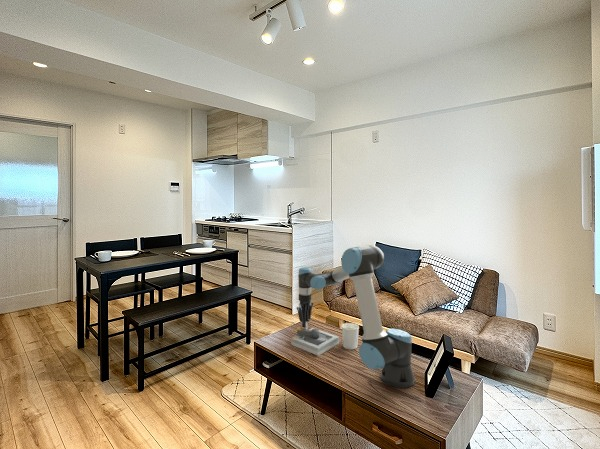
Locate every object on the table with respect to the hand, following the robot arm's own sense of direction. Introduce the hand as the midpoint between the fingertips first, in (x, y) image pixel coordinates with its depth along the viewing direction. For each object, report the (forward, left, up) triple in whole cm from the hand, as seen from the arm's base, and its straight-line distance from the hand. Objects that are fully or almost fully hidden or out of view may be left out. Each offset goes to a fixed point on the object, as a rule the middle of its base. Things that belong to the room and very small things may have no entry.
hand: (305, 331), depth 191 cm
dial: (-5, 0, -3) cm, 6 cm away
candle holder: (-25, -11, -6) cm, 28 cm away
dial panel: (-8, 0, -5) cm, 9 cm away
